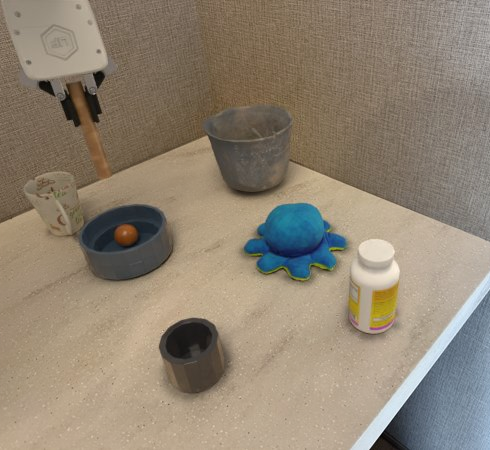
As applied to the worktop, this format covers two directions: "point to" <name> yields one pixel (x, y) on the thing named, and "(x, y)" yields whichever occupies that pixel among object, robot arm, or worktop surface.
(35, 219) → the worktop surface
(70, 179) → the mug
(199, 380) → the holder
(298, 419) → the worktop surface
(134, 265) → the mixing bowl
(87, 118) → the stick
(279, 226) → the plush toy
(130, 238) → the bead
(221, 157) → the grey bucket
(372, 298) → the supplement bottle
